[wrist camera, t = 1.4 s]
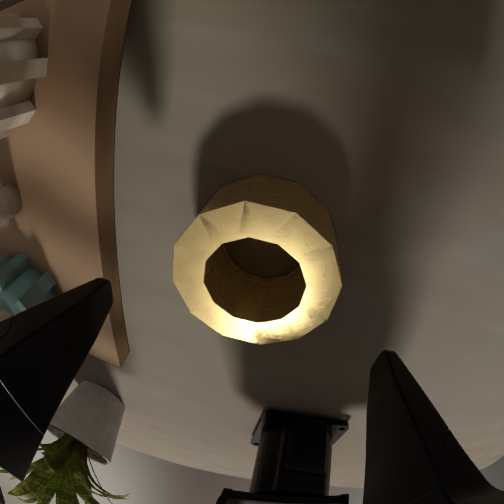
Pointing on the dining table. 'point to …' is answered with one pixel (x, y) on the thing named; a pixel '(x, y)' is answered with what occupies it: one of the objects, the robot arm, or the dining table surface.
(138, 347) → the dining table surface
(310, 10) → the dining table surface
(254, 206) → the hollow tan sleeve
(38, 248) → the gear board
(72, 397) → the house plant
